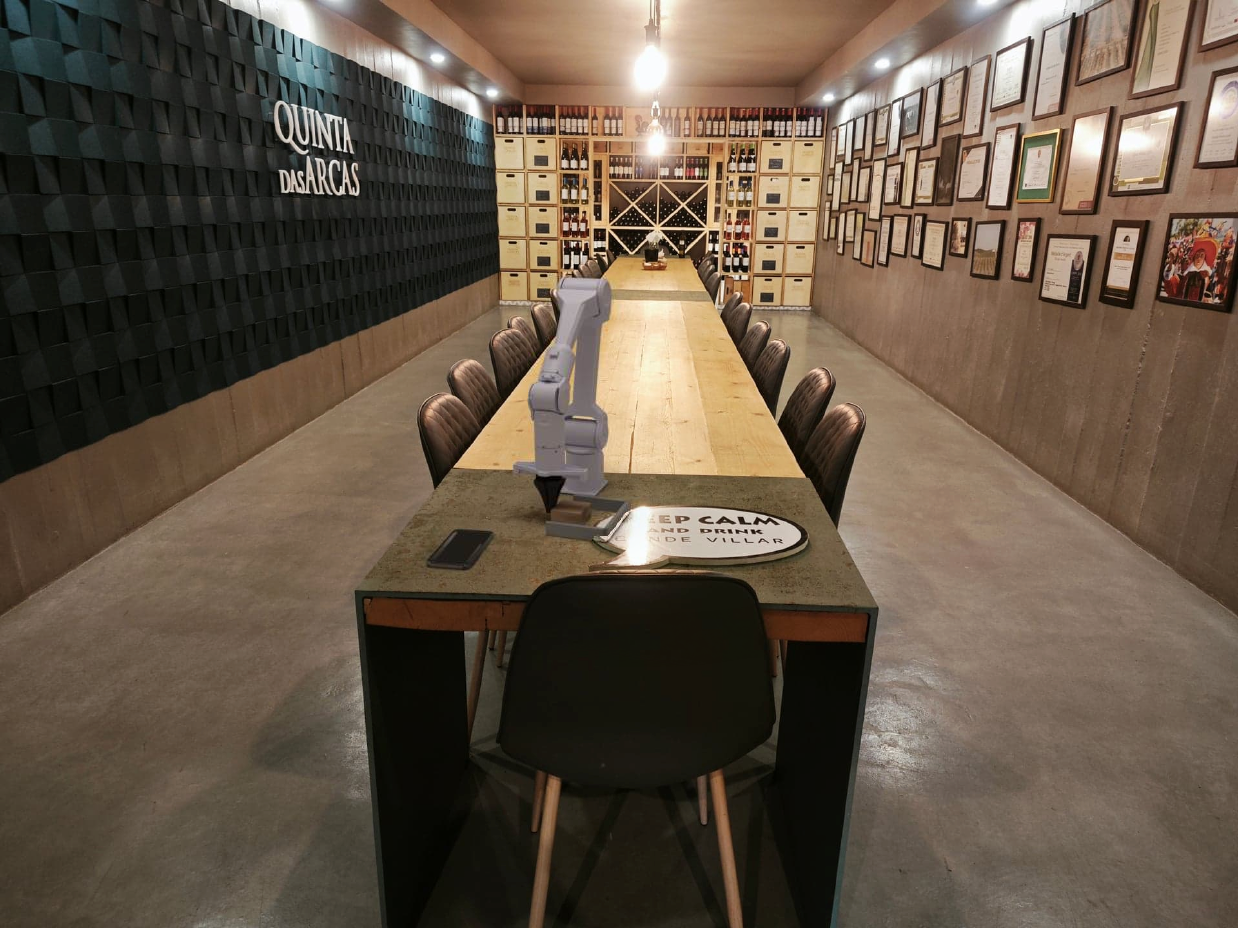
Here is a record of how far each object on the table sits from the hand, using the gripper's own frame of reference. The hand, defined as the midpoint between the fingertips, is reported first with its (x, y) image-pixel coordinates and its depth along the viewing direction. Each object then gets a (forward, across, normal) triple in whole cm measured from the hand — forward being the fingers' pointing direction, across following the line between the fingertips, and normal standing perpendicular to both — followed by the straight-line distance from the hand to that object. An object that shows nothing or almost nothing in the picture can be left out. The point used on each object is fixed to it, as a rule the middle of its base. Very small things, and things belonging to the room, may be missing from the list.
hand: (551, 511), depth 152 cm
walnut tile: (+2, +4, 0) cm, 4 cm away
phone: (+2, -9, -19) cm, 21 cm away
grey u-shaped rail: (+1, +8, 0) cm, 8 cm away
